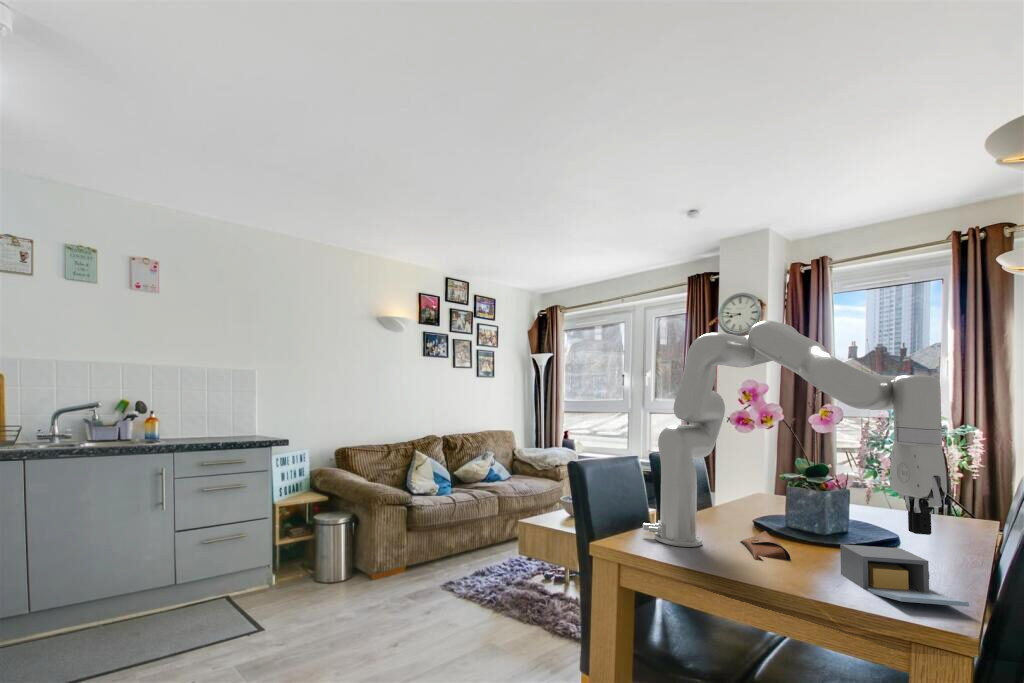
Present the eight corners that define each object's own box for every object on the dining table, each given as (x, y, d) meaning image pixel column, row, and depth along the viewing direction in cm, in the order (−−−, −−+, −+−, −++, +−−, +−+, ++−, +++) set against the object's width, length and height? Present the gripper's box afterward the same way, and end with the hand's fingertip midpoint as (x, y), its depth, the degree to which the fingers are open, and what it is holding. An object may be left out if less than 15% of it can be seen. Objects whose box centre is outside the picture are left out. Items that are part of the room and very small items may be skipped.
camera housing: (863, 592, 111) (862, 556, 111) (840, 577, 120) (840, 544, 120) (937, 598, 109) (936, 561, 110) (909, 582, 118) (908, 549, 119)
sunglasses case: (737, 540, 148) (750, 520, 148) (760, 555, 146) (773, 535, 146) (754, 560, 130) (769, 537, 130) (780, 577, 129) (795, 555, 128)
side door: (868, 592, 110) (900, 601, 99) (867, 588, 110) (900, 596, 100) (929, 597, 109) (969, 606, 98) (929, 592, 109) (968, 602, 98)
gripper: (874, 433, 112) (876, 522, 110) (922, 440, 97) (925, 542, 95) (912, 435, 111) (914, 525, 109) (966, 442, 96) (970, 545, 94)
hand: (919, 533), depth 102 cm, fingers closed
